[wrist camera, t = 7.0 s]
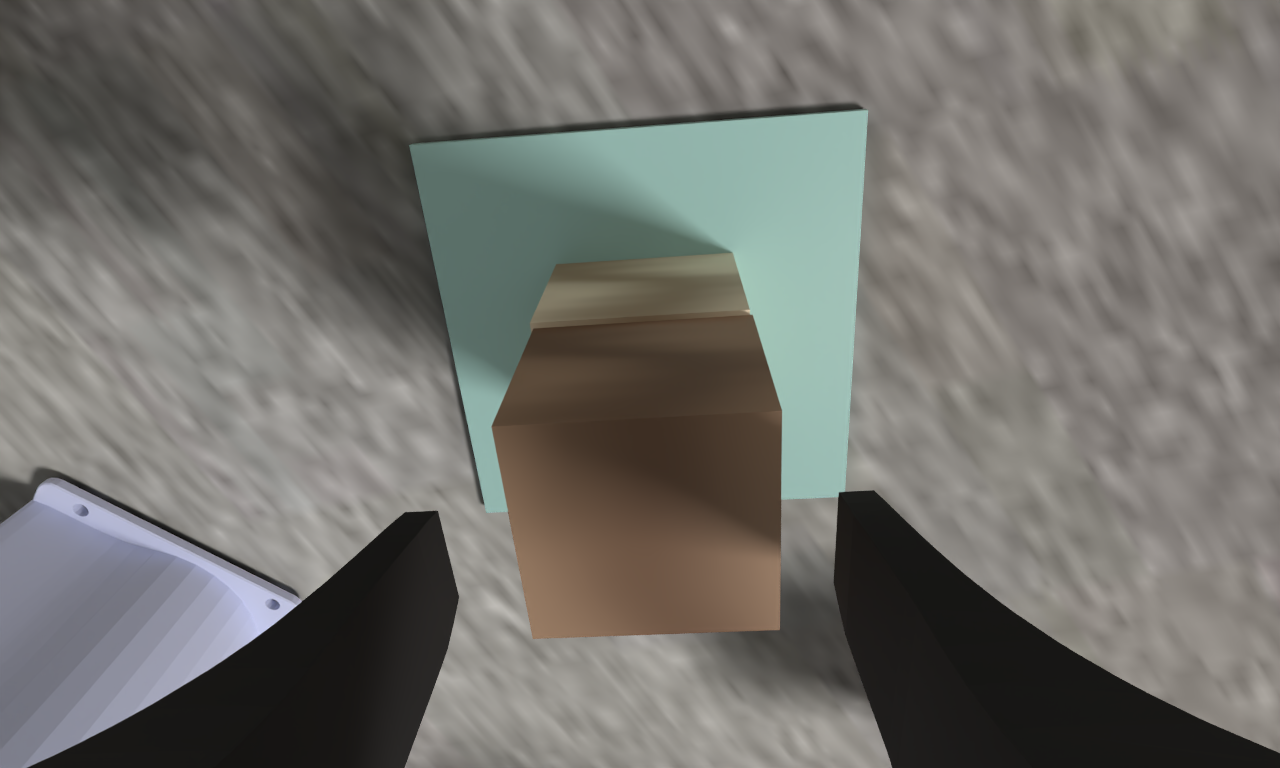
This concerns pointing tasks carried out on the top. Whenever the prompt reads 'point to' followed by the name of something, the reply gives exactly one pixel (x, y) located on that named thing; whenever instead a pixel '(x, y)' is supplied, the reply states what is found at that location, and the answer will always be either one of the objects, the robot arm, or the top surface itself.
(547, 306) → the maple block
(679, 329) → the walnut block
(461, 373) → the mat
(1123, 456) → the top surface
